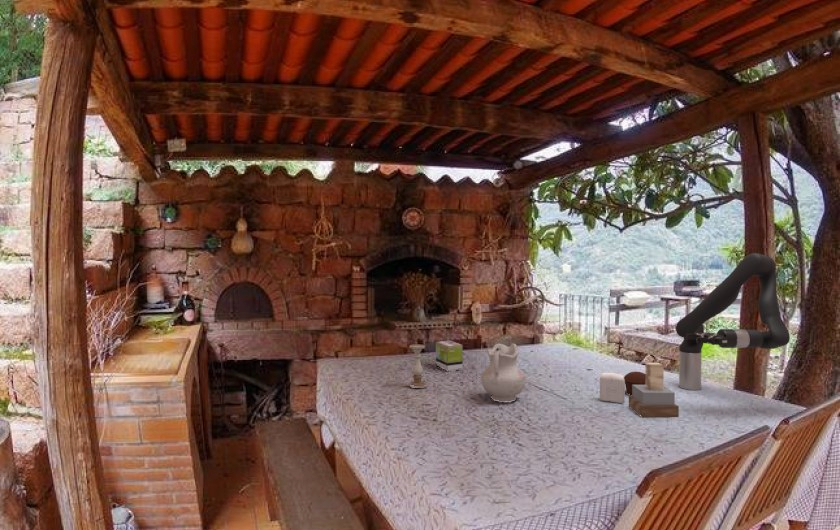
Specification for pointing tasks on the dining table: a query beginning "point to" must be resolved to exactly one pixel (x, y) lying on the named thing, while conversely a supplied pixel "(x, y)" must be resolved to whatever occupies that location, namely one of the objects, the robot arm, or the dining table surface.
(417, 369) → the candle holder
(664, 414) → the walnut base block
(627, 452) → the dining table surface
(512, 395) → the ceramic pitcher
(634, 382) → the muffin
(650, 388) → the birch pillar block
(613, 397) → the photo printer
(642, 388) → the slate top block
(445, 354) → the tea box
